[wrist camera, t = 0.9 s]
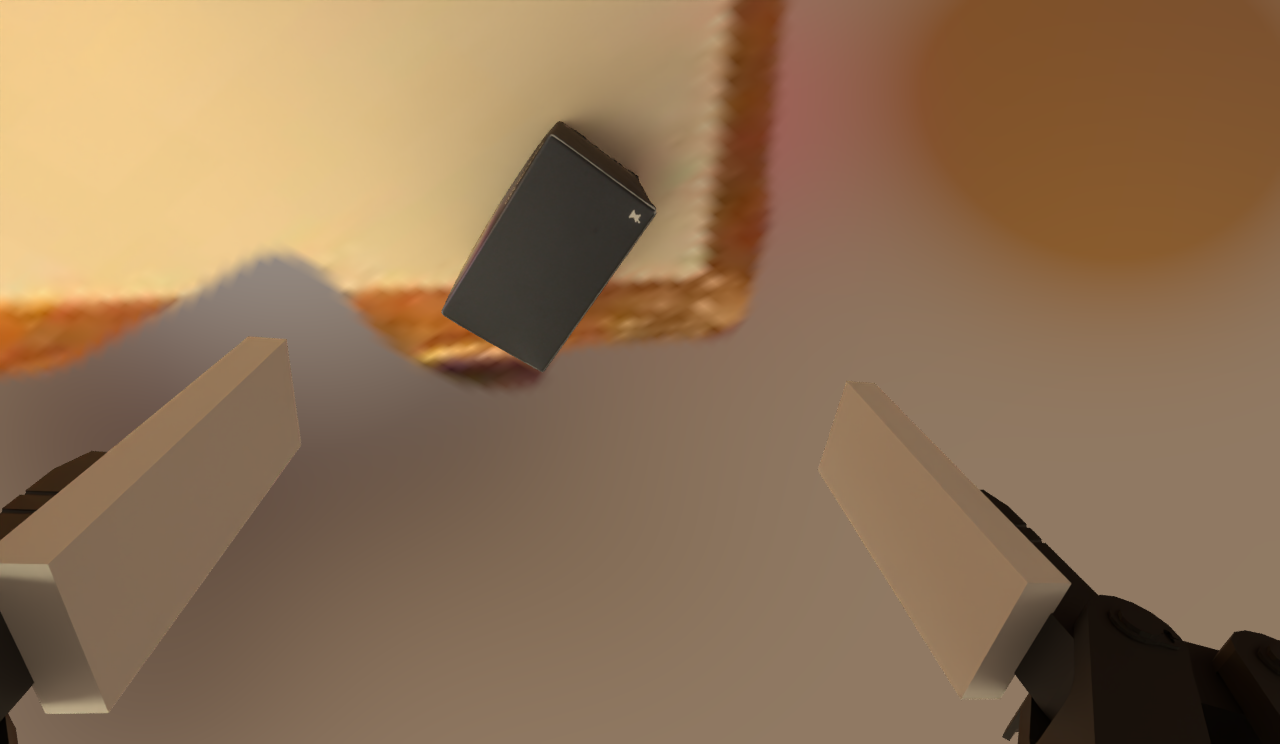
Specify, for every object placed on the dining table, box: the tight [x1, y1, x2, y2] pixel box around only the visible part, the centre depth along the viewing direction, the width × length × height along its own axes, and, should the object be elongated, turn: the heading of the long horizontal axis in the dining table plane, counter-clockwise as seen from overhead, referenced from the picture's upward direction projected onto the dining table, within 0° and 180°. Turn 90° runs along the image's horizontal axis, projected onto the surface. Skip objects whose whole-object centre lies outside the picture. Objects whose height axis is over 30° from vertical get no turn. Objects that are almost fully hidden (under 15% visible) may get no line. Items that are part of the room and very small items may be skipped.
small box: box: [442, 121, 656, 372], centre depth 33 cm, size 11×6×10 cm, turn 144°
